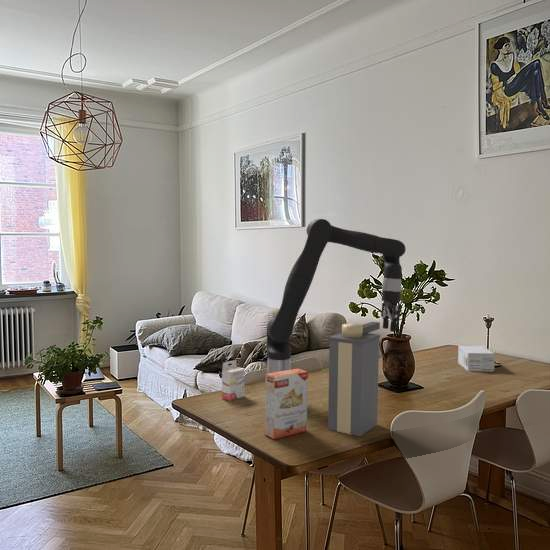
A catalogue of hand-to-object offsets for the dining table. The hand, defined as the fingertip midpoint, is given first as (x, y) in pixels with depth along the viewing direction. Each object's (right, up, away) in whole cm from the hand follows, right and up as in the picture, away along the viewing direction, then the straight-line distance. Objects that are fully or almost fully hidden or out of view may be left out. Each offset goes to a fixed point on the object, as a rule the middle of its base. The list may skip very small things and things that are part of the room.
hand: (389, 329), depth 228 cm
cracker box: (-42, -31, -38) cm, 65 cm away
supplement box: (+55, -25, +56) cm, 82 cm away
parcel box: (-19, -31, -31) cm, 48 cm away
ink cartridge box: (-63, -28, +2) cm, 69 cm away
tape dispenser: (-15, +2, -29) cm, 33 cm away
